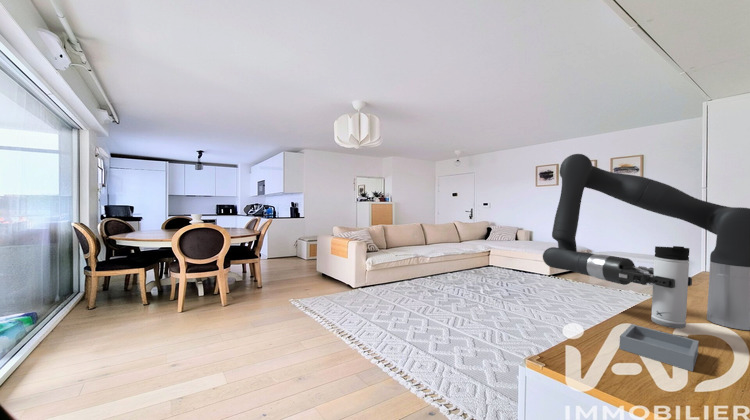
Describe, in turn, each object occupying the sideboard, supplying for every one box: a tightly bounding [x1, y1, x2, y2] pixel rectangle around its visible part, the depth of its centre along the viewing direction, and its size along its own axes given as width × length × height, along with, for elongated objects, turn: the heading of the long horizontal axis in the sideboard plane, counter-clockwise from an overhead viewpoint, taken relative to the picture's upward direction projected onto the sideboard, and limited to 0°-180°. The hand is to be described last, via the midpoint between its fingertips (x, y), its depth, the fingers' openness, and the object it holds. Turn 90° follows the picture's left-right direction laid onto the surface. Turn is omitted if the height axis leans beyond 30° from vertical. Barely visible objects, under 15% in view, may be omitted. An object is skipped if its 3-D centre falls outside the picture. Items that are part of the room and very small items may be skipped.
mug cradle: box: [619, 323, 699, 373], centre depth 69 cm, size 12×12×3 cm
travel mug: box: [650, 245, 690, 329], centre depth 76 cm, size 6×7×20 cm
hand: (682, 282), depth 74 cm, fingers closed on travel mug, 6 cm apart
